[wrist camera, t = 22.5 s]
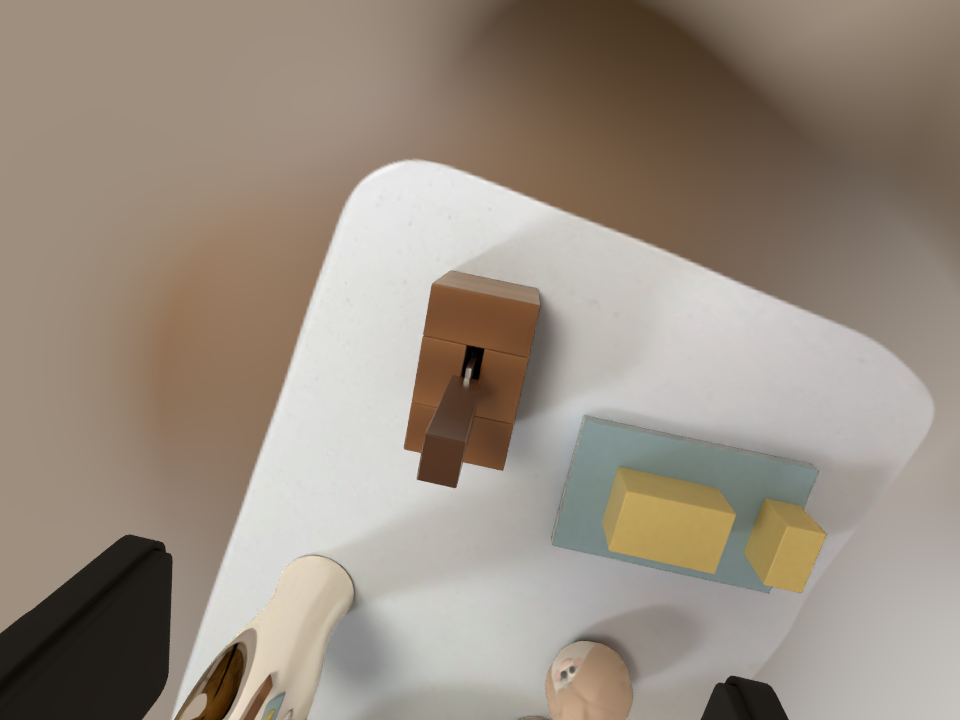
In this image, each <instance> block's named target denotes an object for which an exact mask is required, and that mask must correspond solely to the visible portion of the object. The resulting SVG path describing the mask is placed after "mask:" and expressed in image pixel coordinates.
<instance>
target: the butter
mask: <svg viewBox="0 0 960 720" xmlns="http://www.w3.org/2000/svg"><path fill="white" fill-rule="evenodd" d="M735 517H736V513H735V512H734V511H733V509H732V508H731V506H730V505H729V503H728V502H727V500H726V499H725V498H724V496H723V495H722V493H721V492H720V490H719V489H718V488H716V487H711V486H706V485H702V484H697V483H692V482H688V481H683V480H679V479H674V478H669V477H665V476H660V475H655V474H651V473H646V472H642V471H637V470H632V469H628V468H623V467H618V468H617V472H616V475H615V479H614V482H613V486H612V489H611V492H610V496H609V499H608V503H607V506H606V510H605V513H604V516H603V520H602V524H603V528H604V532H605V536H606V541H607V545H608V549H609V551H612V552H617V553H621V554H626V555H630V556H635V557H639V558H644V559H648V560H653V561H657V562H662V563H666V564H671V565H675V566H680V567H684V568H689V569H693V570H698V571H703V572H707V573H712V574H715V572H716V569H717V566H718V563H719V561H720V558H721V555H722V553H723V550H724V547H725V544H726V542H727V539H728V536H729V534H730V531H731V528H732V525H733V523H734V520H735Z"/></svg>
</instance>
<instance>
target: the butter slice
mask: <svg viewBox="0 0 960 720" xmlns="http://www.w3.org/2000/svg"><path fill="white" fill-rule="evenodd" d="M826 535H827V534H826V533H825V532H824V531H823V530H822V529H821V527H820V526H819V525H818V524H817V523H816V522H815V521H814V520H813V519H812V518H811V517H810V516H809V515H808V514H807V512H806V511H805V510H804V509H803V508H802V507H801V506H799V505H795V504H790V503H786V502H781V501H776V500H772V499H767V498H765V499H764V501H763V503H762V506H761V509H760V511H759V514H758V516H757V519H756V522H755V524H754V527H753V530H752V532H751V535H750V537H749V540H748V543H747V545H746V548H745V551H744V554H745V556H746V557H747V559H748V561H749V562H750V564H751V565H752V567H753V568H754V570H755V571H756V573H757V575H758V576H759V578H760V579H761V581H762V582H763V584H764V585H767V586H771V587H776V588H780V589H785V590H789V591H794V592H798V593H802V592H803V589H804V587H805V584H806V582H807V580H808V577H809V575H810V573H811V570H812V568H813V566H814V563H815V561H816V559H817V556H818V554H819V552H820V549H821V547H822V545H823V542H824V540H825V538H826Z"/></svg>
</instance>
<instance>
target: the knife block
mask: <svg viewBox="0 0 960 720" xmlns="http://www.w3.org/2000/svg"><path fill="white" fill-rule="evenodd" d="M539 311H540V300H539V293H538V289H537V288H533V287H528V286H523V285H518V284H513V283H509V282H504V281H499V280H494V279H489V278H484V277H480V276H475V275H470V274H465V273H460V272H455V271H449V272H448V273H446V274H445V275H443V276H442V277H441V278H439V279H438V280H436V281H435V282H434V283H432V286H431V292H430V298H429V304H428V310H427V316H426V322H425V327H424V333H423V335H424V336H423V339H422V345H421V350H420V356H419V362H418V368H417V374H416V380H415V386H414V392H413V398H412V403H411V409H410V415H409V421H408V427H407V433H406V438H405V444H404V449H405V450H410V451H414V452H419V453H421V452H422V446H423V441H424V435H425V433H426V430H427V428H428V426H429V424H430V422H431V420H432V418H433V416H434V413H435V411H436V409H437V407H438V405H439V403H440V401H441V399H442V396H443V394H444V392H445V390H446V388H447V386H448V384H449V381H450V379H451V377H452V375H456V376H461V377H465V373H466V368H467V366H468V363H469V361H470V358H471V354H472V349H473V346H474V347H479V348H484V354H483V359H482V364H481V369H480V374H479V379H475V380H480V381H482V385H481V390H480V395H479V400H478V404H477V409H476V414H475V418H474V422H473V426H472V430H471V433H470V437H469V441H468V445H467V449H466V453H465V456H464V460H463V462H465V463H470V464H474V465H479V466H483V467H488V468H493V469H497V470H502V471H503V469H504V465H505V461H506V456H507V452H508V447H509V443H510V439H511V434H512V430H513V425H514V421H515V417H516V412H517V408H518V403H519V399H520V395H521V390H522V386H523V382H524V377H525V373H526V368H527V364H528V360H529V355H530V351H531V346H532V342H533V338H534V333H535V329H536V324H537V320H538V316H539Z"/></svg>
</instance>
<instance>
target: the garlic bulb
mask: <svg viewBox="0 0 960 720" xmlns="http://www.w3.org/2000/svg"><path fill="white" fill-rule="evenodd" d="M545 690H546V697H547V700H548V705H549V711H550V715H551V717H552V719H553V720H625V719H626V717H627V716H628V713H629V710H630V708H631V705H632V701H633V690H632V684H631V681H630V675H629V672H628V670H627V668H626V666H625V664H624V662H623V660H622V658H621V657H620V656H619V655H618V654H617V653H616V652H615V651H613V650H612V649H610V648H609V647H608V646H606V645H604V644H602V643H594V642H589V641H579V642H574V643H572V644H570V645H568V646H566V647H565V648H563V649H562V650H561V651H560V652H559V653H558V655H557V656H556V658H555V660H554V662H553V664H552V665H551V667H550V668H549V671H548V673H547V677H546V684H545Z"/></svg>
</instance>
